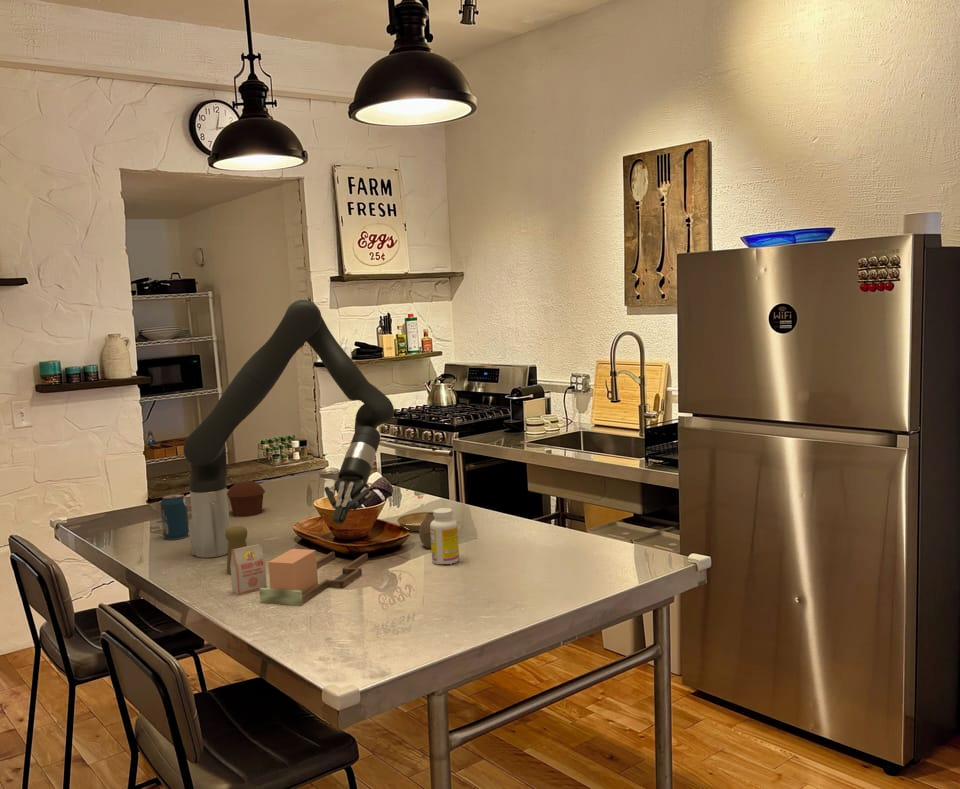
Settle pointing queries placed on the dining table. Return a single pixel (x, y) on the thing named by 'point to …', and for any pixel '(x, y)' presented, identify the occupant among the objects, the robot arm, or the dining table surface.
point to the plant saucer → (412, 520)
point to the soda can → (174, 516)
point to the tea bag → (248, 569)
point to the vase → (426, 530)
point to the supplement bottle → (444, 537)
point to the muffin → (246, 498)
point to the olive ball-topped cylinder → (235, 541)
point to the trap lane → (296, 595)
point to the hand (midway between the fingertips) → (337, 522)
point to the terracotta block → (294, 570)
